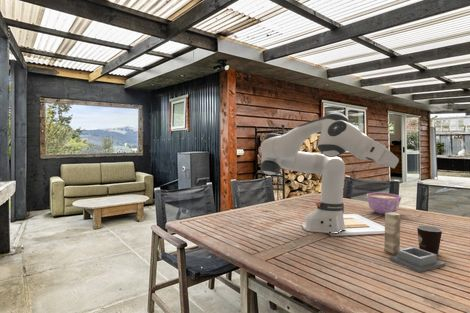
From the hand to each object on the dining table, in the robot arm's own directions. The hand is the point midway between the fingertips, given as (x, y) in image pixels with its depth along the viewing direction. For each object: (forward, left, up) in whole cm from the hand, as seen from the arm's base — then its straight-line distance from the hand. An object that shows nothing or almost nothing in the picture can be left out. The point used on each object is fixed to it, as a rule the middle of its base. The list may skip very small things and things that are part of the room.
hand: (384, 163), depth 114 cm
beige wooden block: (+5, +3, -37) cm, 38 cm away
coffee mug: (+21, +5, -38) cm, 43 cm away
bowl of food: (+30, +70, -38) cm, 85 cm away
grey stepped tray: (+9, -8, -37) cm, 39 cm away
